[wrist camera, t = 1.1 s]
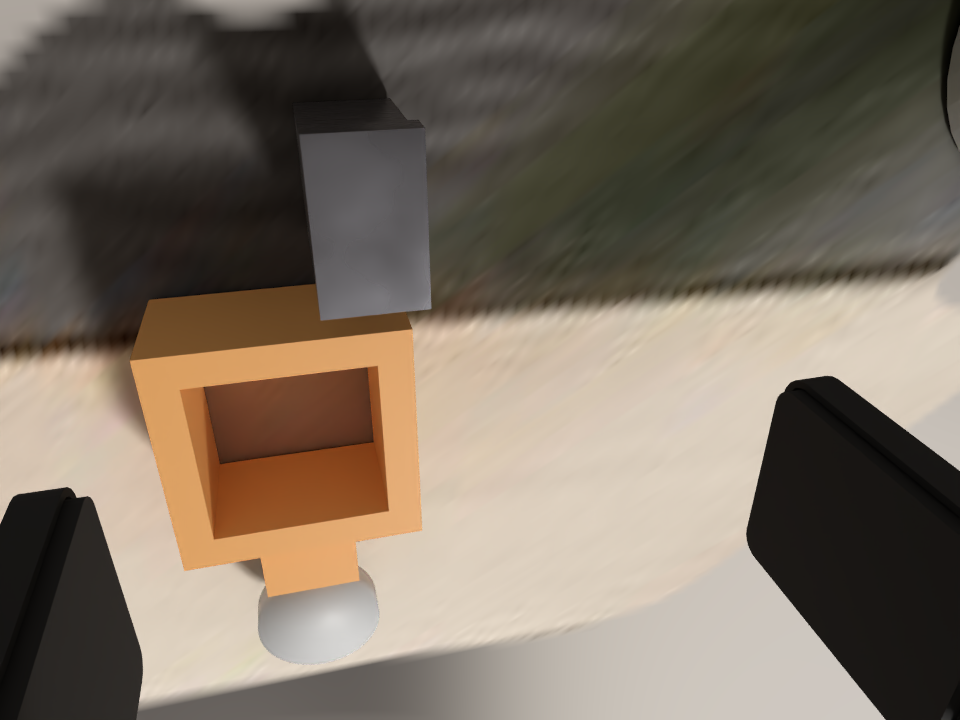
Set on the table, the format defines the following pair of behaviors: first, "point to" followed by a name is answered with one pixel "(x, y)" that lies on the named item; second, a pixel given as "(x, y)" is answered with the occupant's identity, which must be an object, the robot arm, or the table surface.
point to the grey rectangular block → (365, 206)
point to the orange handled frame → (282, 457)
